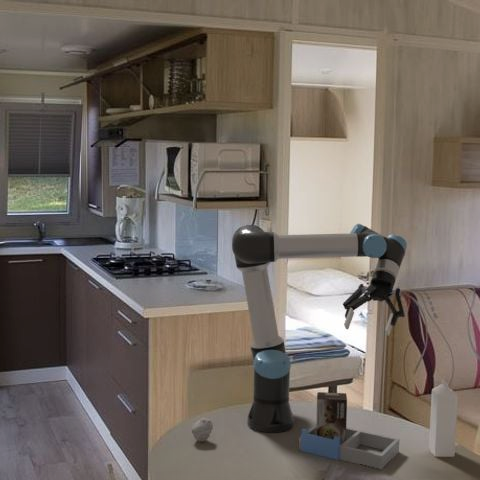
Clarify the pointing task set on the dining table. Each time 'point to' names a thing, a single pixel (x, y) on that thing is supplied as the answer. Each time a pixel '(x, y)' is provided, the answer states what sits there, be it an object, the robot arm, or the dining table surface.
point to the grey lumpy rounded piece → (202, 429)
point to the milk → (443, 421)
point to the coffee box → (331, 415)
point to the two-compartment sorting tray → (351, 447)
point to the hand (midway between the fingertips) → (366, 330)
